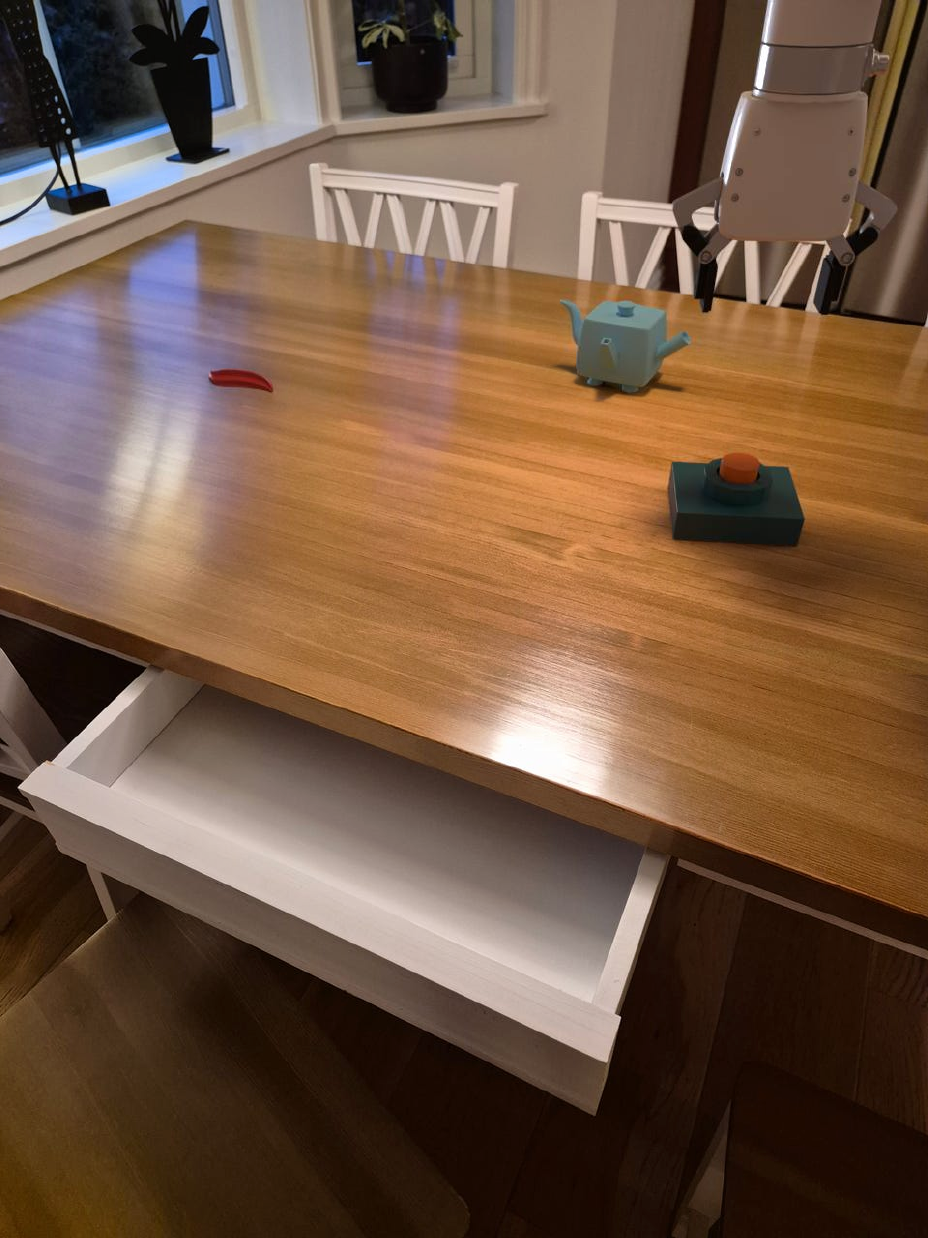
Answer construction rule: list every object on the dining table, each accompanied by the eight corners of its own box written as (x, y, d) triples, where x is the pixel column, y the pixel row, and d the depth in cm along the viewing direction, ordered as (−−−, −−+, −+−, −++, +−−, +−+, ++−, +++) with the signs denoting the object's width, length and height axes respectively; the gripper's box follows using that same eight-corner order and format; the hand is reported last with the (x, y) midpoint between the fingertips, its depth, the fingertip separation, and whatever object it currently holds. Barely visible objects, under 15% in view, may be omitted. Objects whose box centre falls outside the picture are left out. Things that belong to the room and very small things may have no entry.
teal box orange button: (781, 492, 89) (792, 451, 86) (797, 546, 81) (809, 502, 78) (667, 487, 90) (673, 445, 87) (672, 539, 83) (679, 496, 80)
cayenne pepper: (198, 377, 116) (195, 364, 114) (225, 366, 118) (222, 353, 117) (253, 400, 109) (250, 386, 108) (280, 388, 112) (278, 374, 111)
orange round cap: (753, 468, 84) (757, 453, 83) (758, 486, 81) (762, 471, 80) (717, 466, 85) (720, 451, 83) (720, 485, 82) (723, 469, 81)
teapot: (696, 372, 113) (709, 297, 106) (664, 415, 103) (675, 335, 97) (573, 350, 120) (578, 278, 113) (532, 388, 110) (535, 312, 104)
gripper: (919, 63, 63) (857, 295, 74) (684, 67, 65) (657, 292, 76) (950, 78, 57) (877, 326, 68) (692, 81, 59) (661, 322, 70)
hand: (761, 308), depth 72 cm, fingers open, 9 cm apart
